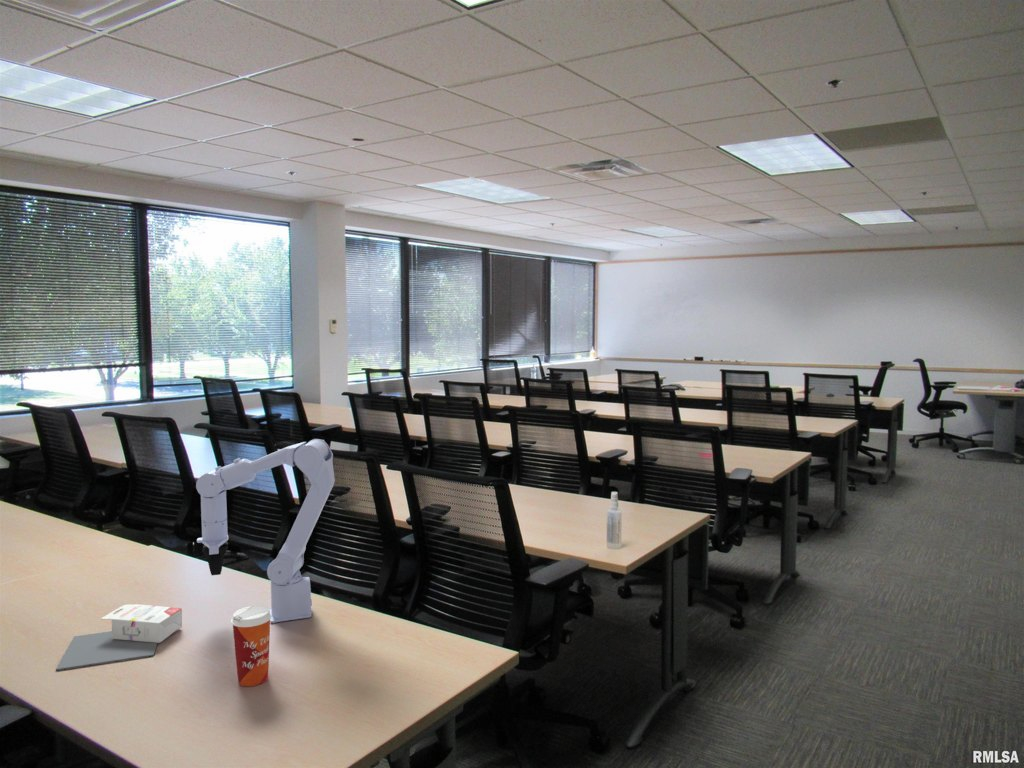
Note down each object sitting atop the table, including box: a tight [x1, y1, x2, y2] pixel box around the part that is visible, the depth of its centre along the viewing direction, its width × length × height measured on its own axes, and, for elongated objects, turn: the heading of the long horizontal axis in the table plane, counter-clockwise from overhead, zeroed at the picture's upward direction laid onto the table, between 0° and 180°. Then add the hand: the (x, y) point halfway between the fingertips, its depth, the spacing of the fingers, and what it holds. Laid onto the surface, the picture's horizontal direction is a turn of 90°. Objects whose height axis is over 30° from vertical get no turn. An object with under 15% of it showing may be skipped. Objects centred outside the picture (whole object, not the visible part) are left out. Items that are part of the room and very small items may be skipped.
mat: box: [55, 630, 158, 672], centre depth 151 cm, size 18×16×1 cm
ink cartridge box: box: [100, 603, 183, 644], centre depth 156 cm, size 9×5×15 cm
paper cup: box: [230, 605, 272, 688], centre depth 136 cm, size 8×8×14 cm
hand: (216, 574), depth 167 cm, fingers closed
